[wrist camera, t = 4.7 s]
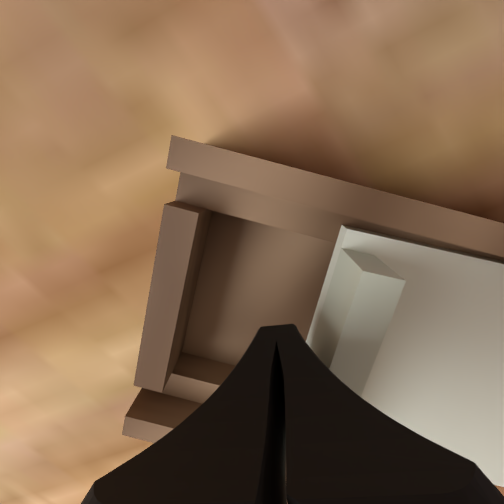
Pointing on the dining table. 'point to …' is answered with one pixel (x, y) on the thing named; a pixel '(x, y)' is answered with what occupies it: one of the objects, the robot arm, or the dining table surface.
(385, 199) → the groove box
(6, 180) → the dining table surface
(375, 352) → the cover plate
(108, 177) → the dining table surface
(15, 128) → the dining table surface
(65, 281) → the dining table surface
